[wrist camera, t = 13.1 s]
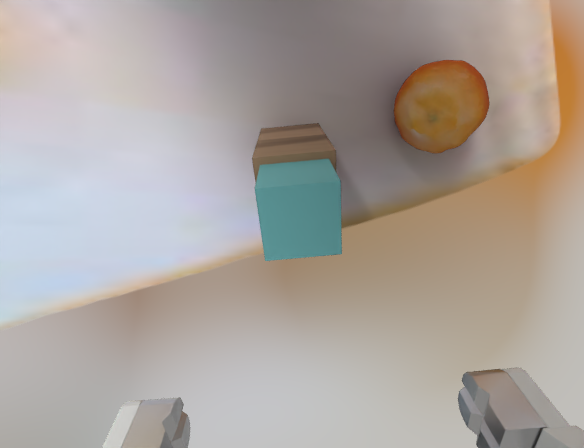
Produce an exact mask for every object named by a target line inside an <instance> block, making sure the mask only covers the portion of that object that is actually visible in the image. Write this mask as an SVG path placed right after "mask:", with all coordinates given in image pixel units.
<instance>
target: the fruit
mask: <svg viewBox="0 0 584 448" xmlns="http://www.w3.org/2000/svg"><path fill="white" fill-rule="evenodd" d="M488 109H489V96H488V91H487V87H486V83H485V80H484V78H483V77H482V75H481V74H480V73H479V72H478V71H477V70H476V69H475V68H474V67H473V66H472V65H470V64H468V63H467V62H465V61H461V60H460V61H456V60H443V61H437V62H432V63H428V64H425V65H423V66H421V67H419V68H418V69H417V70H416V71H414V72H413V73H412V74H411V75H410V76H409V77H408V78H407V79H406V81H405V82H404V83H403V85H402V87H401V88H400V90H399V92H398V94H397V96H396V99H395V104H394V116H395V123H396V125H397V127H398V129H399V132H400V135H401V137H402V138H403V139H404V140H405V141H406V142H407V143H409V144H410V145H412V146H414V147H415V148H417V149H420V150H423V151H427V152H431V153H441V152H443V151H445V150H448V149H452V148H455V147H458V146H460V145H461V144H462V143H464V142H465V141H466V140H467V138H468V137H469V136H470V135H471V134H472V133H473V132H474V131H475V130H476V129H477V128H478V127H479V126H480V125H481V123H482V122H483V121H484V119H485V117H486V115H487V112H488Z"/></svg>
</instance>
